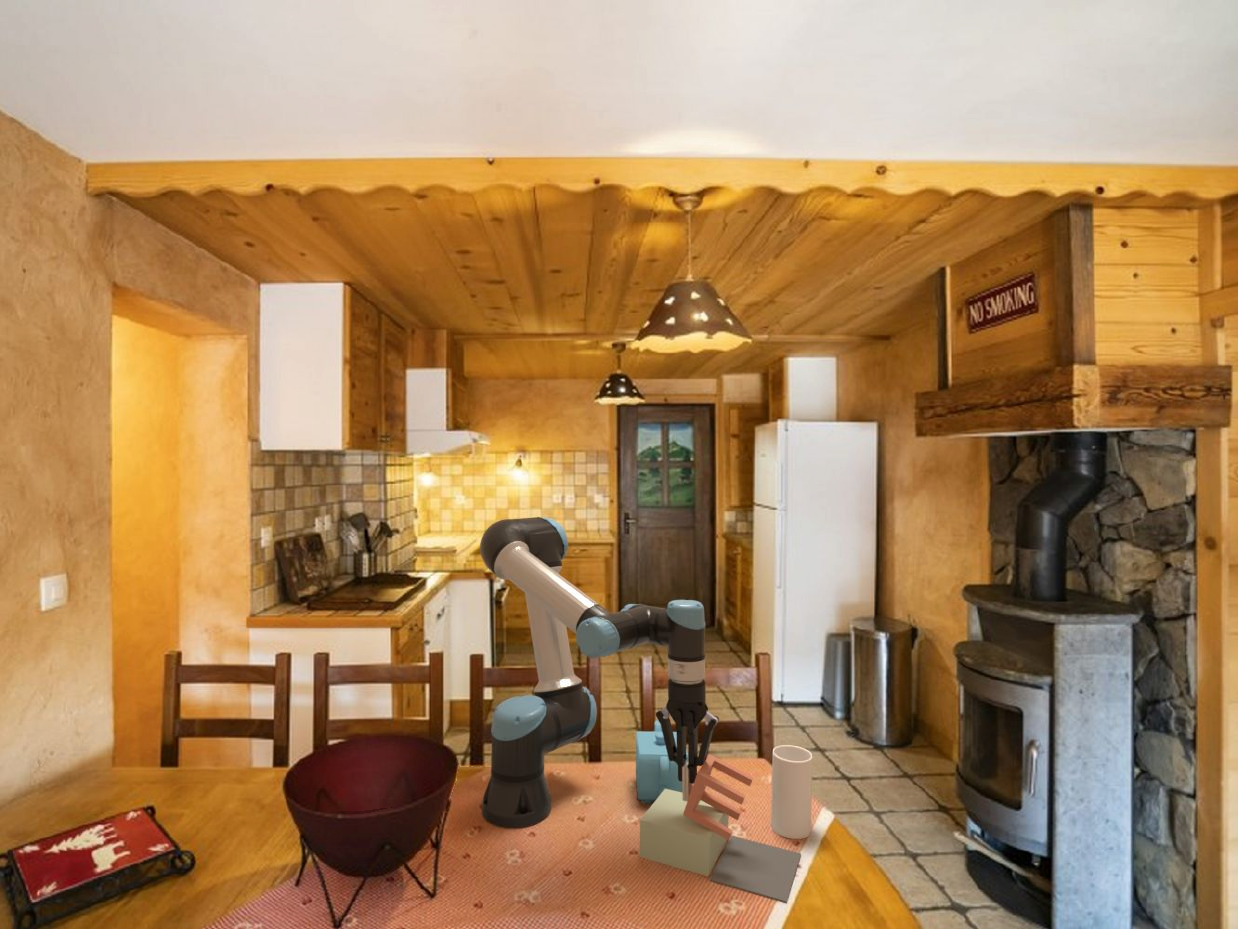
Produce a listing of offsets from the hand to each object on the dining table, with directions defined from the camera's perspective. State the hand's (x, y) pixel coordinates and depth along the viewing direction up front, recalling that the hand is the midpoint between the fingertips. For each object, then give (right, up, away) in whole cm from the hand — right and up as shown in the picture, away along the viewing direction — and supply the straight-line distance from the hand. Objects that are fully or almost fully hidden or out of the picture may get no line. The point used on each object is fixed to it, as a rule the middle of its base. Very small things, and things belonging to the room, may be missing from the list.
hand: (687, 798), depth 130 cm
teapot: (-4, -11, +24) cm, 27 cm away
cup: (+23, -11, +8) cm, 27 cm away
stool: (+5, -3, -2) cm, 6 cm away
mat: (+13, -11, -6) cm, 17 cm away
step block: (-1, -10, 0) cm, 10 cm away
